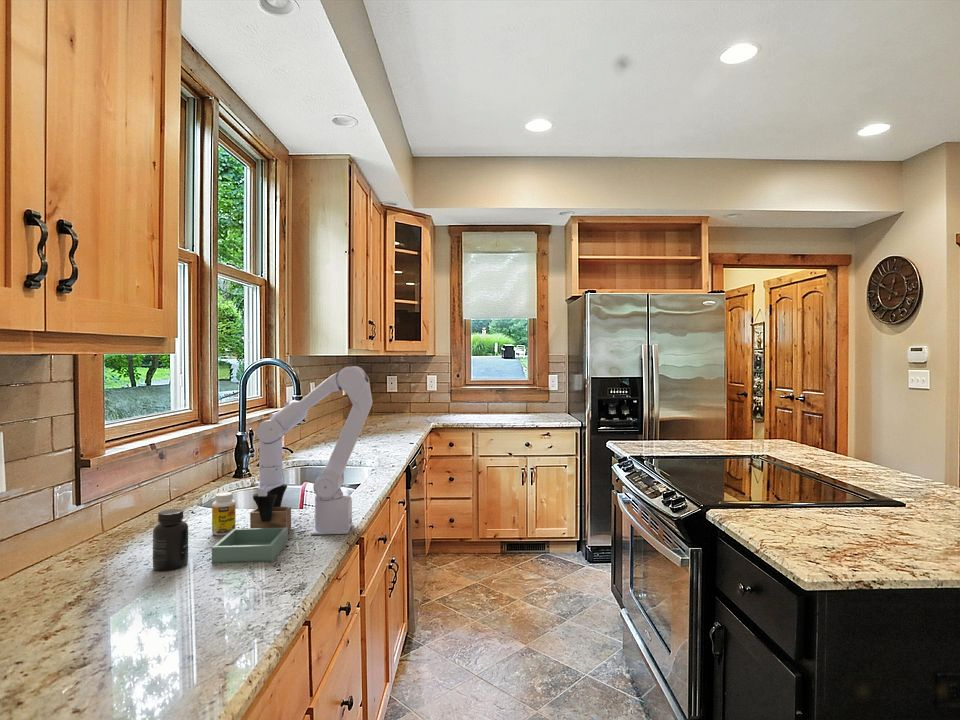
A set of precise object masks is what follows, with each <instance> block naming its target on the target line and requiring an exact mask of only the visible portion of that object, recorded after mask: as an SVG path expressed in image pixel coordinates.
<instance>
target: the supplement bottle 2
mask: <svg viewBox="0 0 960 720" xmlns="http://www.w3.org/2000/svg"><path fill="white" fill-rule="evenodd" d="M214 499H215V500H214V501H213V502H212V504H211V534H212V535H213V536H218V537H219V536H223V537H224V536H226V535H227V534H228V533H229V532H230V531H232V530H233V529H236V501H235V500H234V499H233V493H232V492H230V491H228V492H227V491H226V492H224V491H223V492H218V493H216V494H215V498H214Z"/></svg>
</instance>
